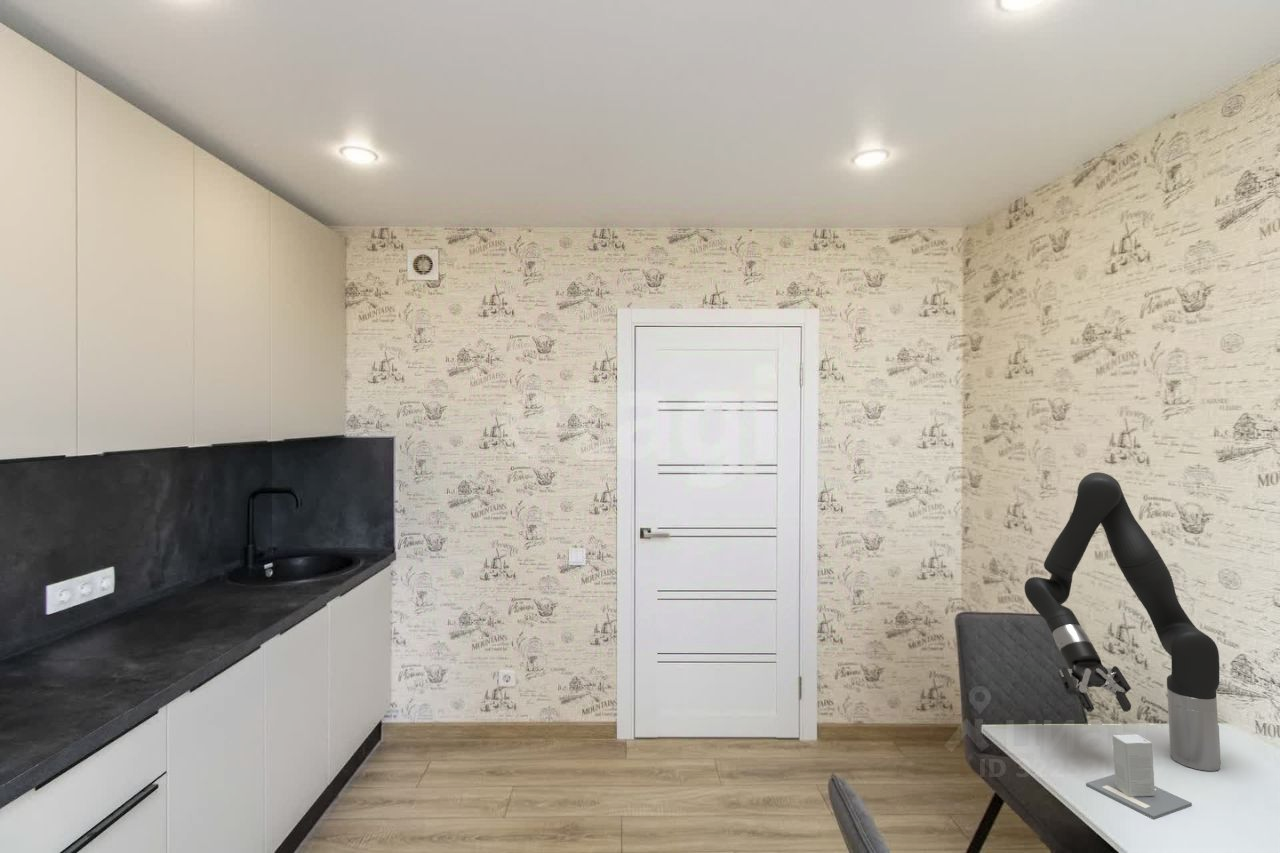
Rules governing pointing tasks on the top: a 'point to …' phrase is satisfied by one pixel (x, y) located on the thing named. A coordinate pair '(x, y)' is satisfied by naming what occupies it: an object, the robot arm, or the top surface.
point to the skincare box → (1133, 765)
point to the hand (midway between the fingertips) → (1109, 710)
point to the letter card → (1141, 798)
